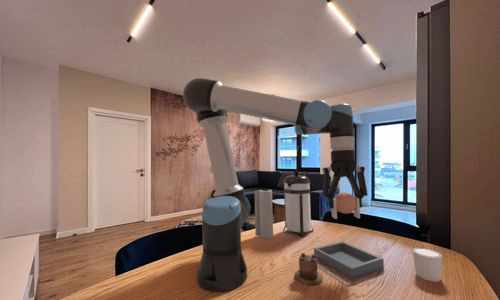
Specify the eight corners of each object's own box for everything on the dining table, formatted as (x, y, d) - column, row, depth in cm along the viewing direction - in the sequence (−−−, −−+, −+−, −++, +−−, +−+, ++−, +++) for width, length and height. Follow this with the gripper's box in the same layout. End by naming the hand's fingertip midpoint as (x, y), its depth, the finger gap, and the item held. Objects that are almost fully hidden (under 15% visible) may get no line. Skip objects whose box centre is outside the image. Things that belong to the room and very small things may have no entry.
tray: (352, 281, 61) (351, 268, 62) (314, 258, 76) (313, 248, 76) (383, 269, 67) (383, 258, 67) (342, 250, 82) (342, 241, 82)
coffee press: (320, 237, 96) (318, 170, 98) (285, 237, 96) (283, 171, 98) (310, 225, 114) (308, 169, 115) (280, 225, 114) (278, 169, 115)
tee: (306, 288, 58) (305, 265, 59) (289, 274, 66) (288, 253, 66) (328, 281, 62) (327, 259, 62) (310, 268, 69) (309, 249, 69)
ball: (341, 220, 72) (347, 209, 67) (327, 204, 76) (332, 192, 72) (357, 212, 74) (363, 200, 69) (342, 197, 78) (347, 185, 74)
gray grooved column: (275, 236, 98) (274, 189, 99) (267, 240, 94) (266, 191, 95) (263, 233, 103) (262, 188, 104) (255, 236, 99) (254, 190, 100)
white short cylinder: (446, 285, 58) (444, 259, 59) (414, 278, 62) (413, 254, 62) (440, 273, 64) (439, 250, 65) (412, 268, 68) (410, 245, 68)
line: (347, 285, 59) (347, 285, 59) (301, 256, 77) (301, 256, 77) (350, 284, 60) (350, 283, 60) (304, 256, 78) (304, 255, 78)
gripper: (365, 149, 77) (369, 213, 76) (310, 151, 77) (313, 215, 76) (377, 148, 70) (381, 219, 68) (316, 150, 70) (319, 221, 69)
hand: (345, 217), depth 72 cm, fingers closed on ball, 7 cm apart
